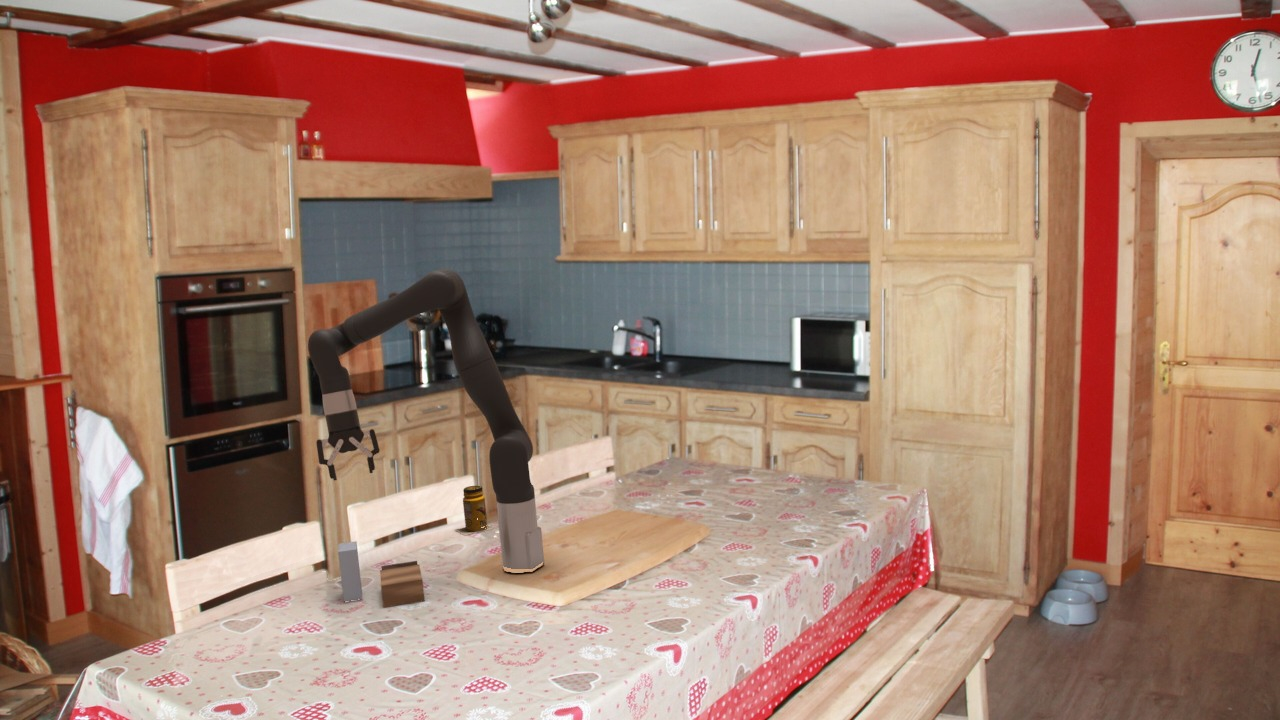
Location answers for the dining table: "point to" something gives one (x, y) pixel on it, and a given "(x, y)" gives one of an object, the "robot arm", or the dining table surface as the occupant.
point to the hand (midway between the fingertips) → (353, 476)
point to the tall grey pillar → (350, 571)
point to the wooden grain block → (401, 584)
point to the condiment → (474, 511)
